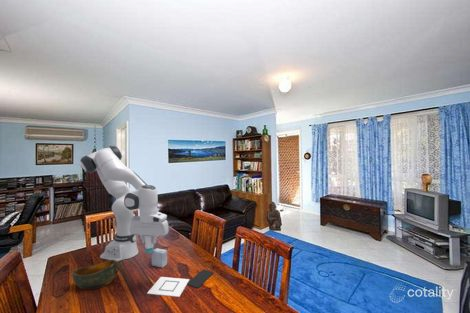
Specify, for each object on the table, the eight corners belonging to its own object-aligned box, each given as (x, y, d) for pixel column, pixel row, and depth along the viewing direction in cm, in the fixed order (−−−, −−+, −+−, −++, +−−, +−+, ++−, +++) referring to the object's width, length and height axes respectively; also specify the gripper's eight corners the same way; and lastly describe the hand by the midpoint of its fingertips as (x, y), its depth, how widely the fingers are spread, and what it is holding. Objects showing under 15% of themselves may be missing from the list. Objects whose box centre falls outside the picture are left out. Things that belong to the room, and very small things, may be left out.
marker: (143, 253, 103) (143, 234, 103) (148, 249, 107) (147, 231, 107) (150, 253, 103) (150, 235, 103) (155, 249, 107) (154, 232, 107)
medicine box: (167, 264, 121) (167, 249, 121) (162, 268, 116) (162, 253, 116) (156, 261, 123) (156, 247, 123) (151, 265, 119) (151, 251, 119)
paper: (147, 293, 95) (147, 292, 95) (160, 277, 108) (160, 276, 108) (179, 296, 92) (179, 296, 92) (189, 279, 105) (189, 279, 105)
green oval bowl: (104, 294, 94) (104, 273, 94) (68, 290, 97) (68, 269, 97) (124, 278, 106) (124, 259, 107) (92, 274, 110) (92, 256, 110)
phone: (214, 272, 112) (198, 287, 98) (214, 273, 112) (198, 289, 98) (203, 268, 115) (186, 283, 101) (203, 270, 115) (186, 285, 101)
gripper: (126, 217, 103) (127, 244, 103) (163, 219, 100) (164, 246, 100) (134, 214, 110) (134, 239, 110) (169, 215, 107) (170, 241, 107)
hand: (149, 242), depth 105 cm, fingers closed on marker, 4 cm apart
